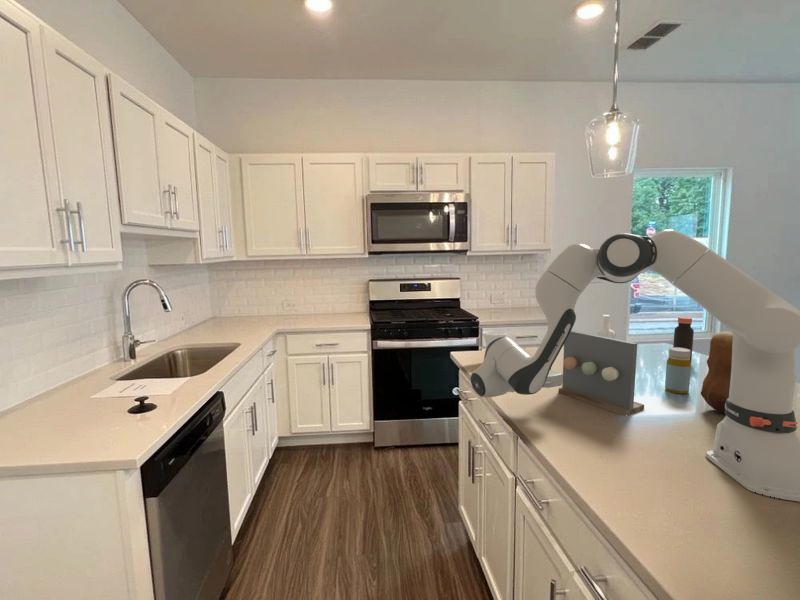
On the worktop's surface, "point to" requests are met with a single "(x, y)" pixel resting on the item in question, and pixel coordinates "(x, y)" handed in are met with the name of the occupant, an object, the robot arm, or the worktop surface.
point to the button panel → (594, 386)
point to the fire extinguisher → (606, 328)
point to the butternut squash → (718, 371)
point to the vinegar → (684, 334)
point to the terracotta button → (570, 363)
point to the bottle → (678, 370)
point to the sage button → (589, 368)
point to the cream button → (610, 373)
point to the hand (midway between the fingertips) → (547, 368)
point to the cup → (493, 335)
